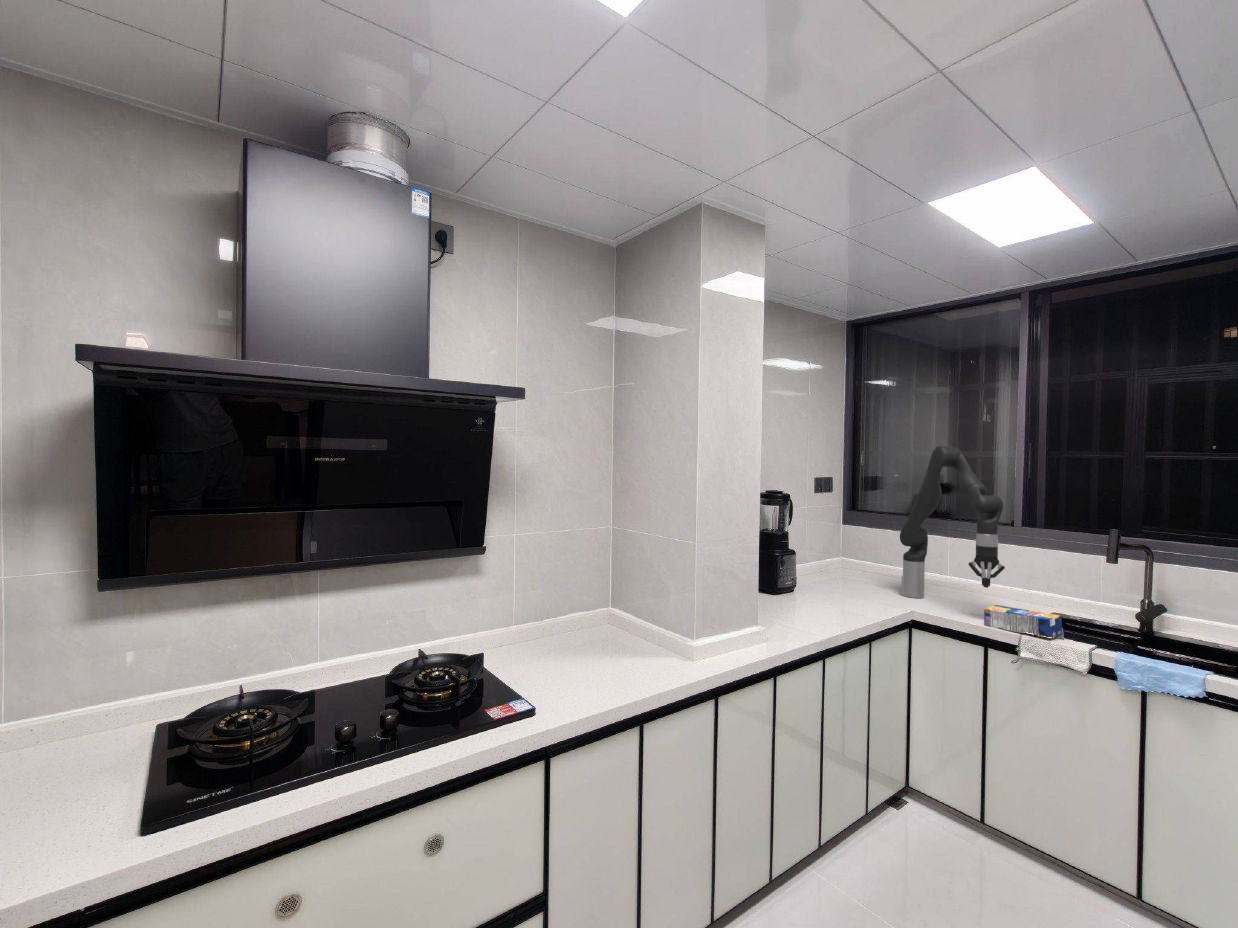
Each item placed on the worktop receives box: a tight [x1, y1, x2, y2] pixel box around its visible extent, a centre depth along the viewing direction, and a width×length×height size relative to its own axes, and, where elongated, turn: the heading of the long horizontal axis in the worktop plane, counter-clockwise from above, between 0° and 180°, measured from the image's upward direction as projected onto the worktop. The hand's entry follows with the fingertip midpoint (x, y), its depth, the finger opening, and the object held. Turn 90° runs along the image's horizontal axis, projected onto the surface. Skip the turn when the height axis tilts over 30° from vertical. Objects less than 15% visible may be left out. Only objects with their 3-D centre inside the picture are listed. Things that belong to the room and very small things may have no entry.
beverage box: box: [983, 604, 1063, 639], centre depth 217 cm, size 7×11×22 cm
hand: (986, 587), depth 227 cm, fingers closed
